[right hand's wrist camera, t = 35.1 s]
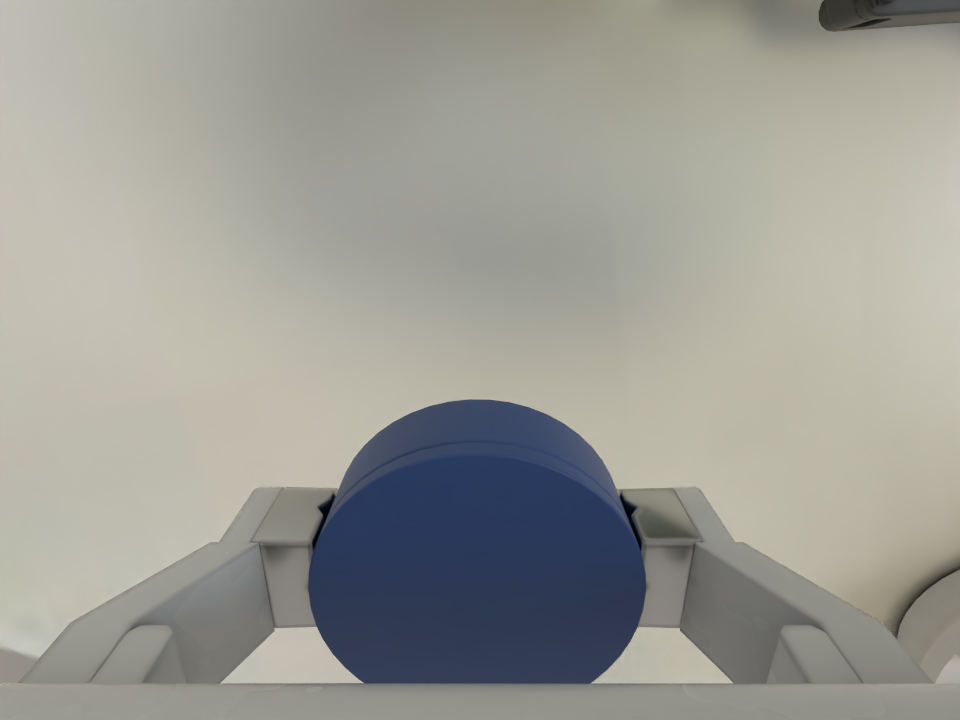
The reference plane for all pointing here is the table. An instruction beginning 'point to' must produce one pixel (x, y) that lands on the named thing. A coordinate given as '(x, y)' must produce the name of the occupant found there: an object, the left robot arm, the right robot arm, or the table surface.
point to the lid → (477, 553)
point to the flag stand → (935, 630)
